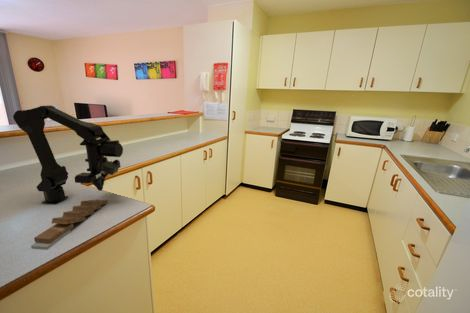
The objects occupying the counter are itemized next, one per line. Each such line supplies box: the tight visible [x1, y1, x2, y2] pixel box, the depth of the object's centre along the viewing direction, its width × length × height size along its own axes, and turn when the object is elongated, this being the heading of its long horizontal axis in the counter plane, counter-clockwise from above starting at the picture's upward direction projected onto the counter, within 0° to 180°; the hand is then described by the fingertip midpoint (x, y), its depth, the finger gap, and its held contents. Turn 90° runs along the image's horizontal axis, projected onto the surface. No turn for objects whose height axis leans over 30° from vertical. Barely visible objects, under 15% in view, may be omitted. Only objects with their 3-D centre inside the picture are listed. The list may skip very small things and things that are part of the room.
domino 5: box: [71, 204, 102, 212], centre depth 83 cm, size 2×5×9 cm
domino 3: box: [51, 216, 86, 224], centre depth 75 cm, size 2×5×9 cm
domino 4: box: [62, 210, 95, 218], centre depth 79 cm, size 2×5×9 cm
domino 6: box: [80, 199, 108, 206], centre depth 88 cm, size 2×5×9 cm
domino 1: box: [33, 223, 74, 244], centre depth 69 cm, size 2×5×9 cm
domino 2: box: [30, 229, 72, 250], centre depth 68 cm, size 2×5×9 cm
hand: (100, 190), depth 91 cm, fingers closed
